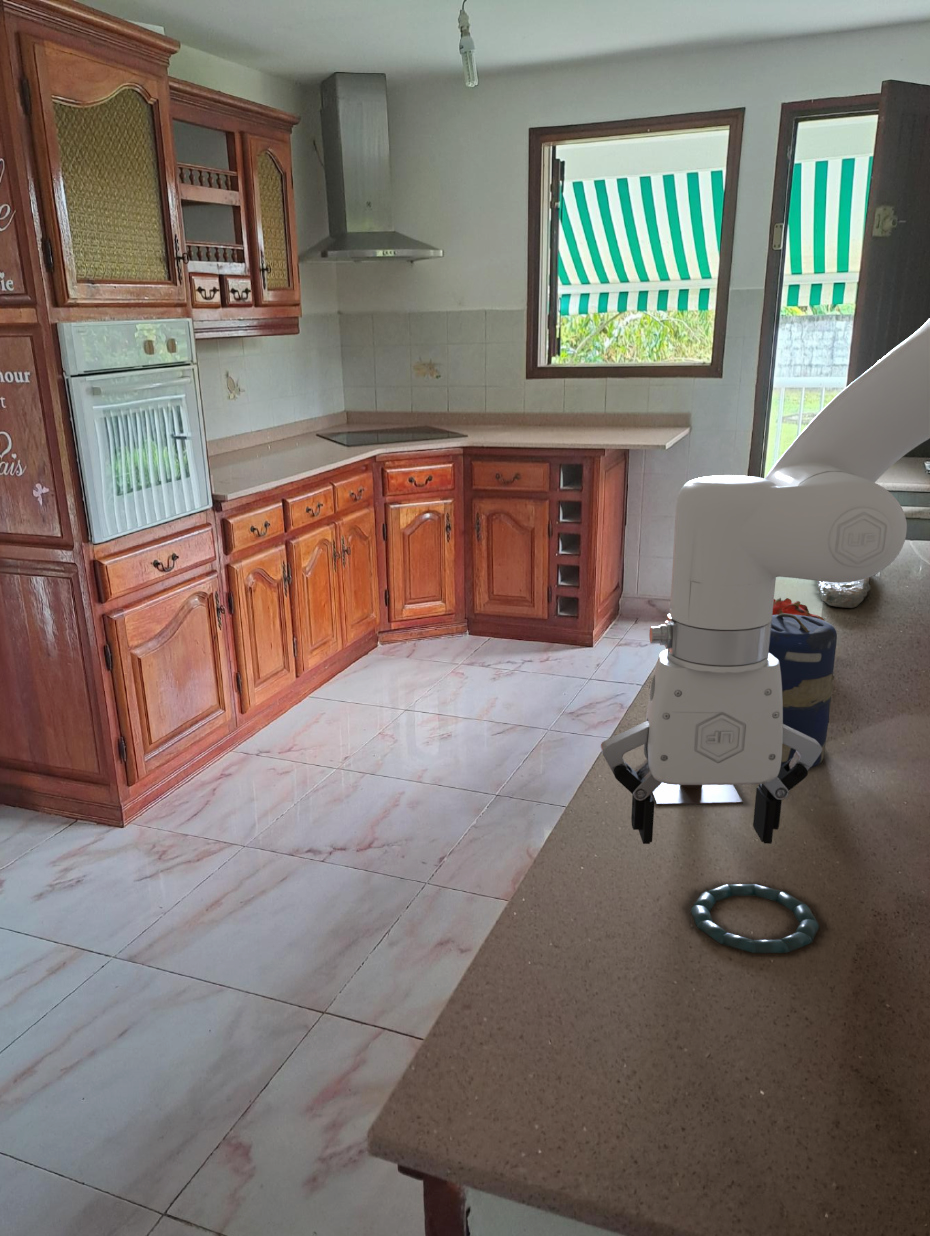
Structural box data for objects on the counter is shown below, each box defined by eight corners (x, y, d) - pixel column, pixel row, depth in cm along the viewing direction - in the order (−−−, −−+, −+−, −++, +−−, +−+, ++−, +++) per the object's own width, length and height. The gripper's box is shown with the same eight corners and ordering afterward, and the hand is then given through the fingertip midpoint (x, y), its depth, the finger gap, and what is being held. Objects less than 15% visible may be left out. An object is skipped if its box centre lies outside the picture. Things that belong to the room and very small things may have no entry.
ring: (795, 895, 90) (796, 880, 89) (833, 963, 80) (835, 946, 80) (681, 896, 90) (681, 881, 90) (705, 964, 81) (706, 947, 80)
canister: (808, 744, 120) (822, 601, 114) (836, 777, 112) (853, 624, 105) (728, 747, 121) (737, 604, 115) (750, 780, 112) (762, 628, 106)
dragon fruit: (739, 650, 159) (817, 668, 155) (739, 633, 152) (821, 651, 147) (753, 602, 161) (831, 618, 156) (754, 583, 153) (836, 599, 149)
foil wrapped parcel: (808, 614, 175) (870, 621, 171) (813, 586, 173) (875, 591, 169) (815, 559, 204) (867, 564, 201) (818, 534, 202) (872, 538, 199)
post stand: (722, 776, 113) (728, 684, 110) (742, 812, 105) (749, 714, 101) (642, 777, 114) (645, 686, 110) (656, 813, 106) (660, 716, 102)
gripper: (611, 657, 74) (603, 859, 80) (850, 653, 72) (824, 858, 78) (599, 628, 81) (593, 815, 87) (816, 624, 79) (795, 814, 85)
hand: (703, 835), depth 82 cm, fingers open, 9 cm apart
